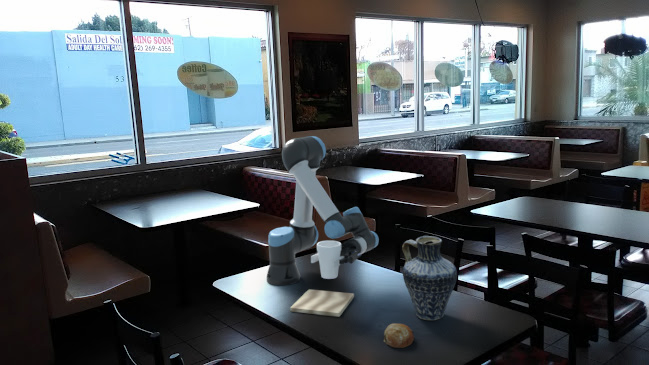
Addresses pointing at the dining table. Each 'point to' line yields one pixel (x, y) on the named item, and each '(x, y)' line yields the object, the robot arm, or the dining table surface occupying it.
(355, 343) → the dining table surface
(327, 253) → the foam cup
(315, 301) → the serving board
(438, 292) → the jug
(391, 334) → the bread roll
